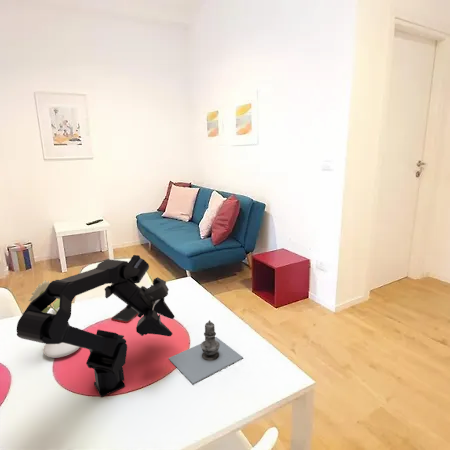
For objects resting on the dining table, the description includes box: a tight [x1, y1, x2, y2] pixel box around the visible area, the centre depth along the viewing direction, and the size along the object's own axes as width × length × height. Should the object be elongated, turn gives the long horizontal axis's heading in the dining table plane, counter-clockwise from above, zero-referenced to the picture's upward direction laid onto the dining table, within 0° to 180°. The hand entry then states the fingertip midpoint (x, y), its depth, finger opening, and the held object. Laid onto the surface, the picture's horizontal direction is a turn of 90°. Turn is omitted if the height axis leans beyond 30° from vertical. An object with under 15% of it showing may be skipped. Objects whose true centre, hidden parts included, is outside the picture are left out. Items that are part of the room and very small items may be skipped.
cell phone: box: [110, 307, 138, 324], centre depth 129 cm, size 8×15×1 cm, turn 160°
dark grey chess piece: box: [200, 319, 220, 361], centre depth 100 cm, size 6×6×12 cm
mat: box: [167, 336, 244, 385], centre depth 100 cm, size 18×14×1 cm
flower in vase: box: [28, 280, 81, 359], centre depth 102 cm, size 13×11×25 cm
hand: (172, 326), depth 98 cm, fingers open, 9 cm apart
